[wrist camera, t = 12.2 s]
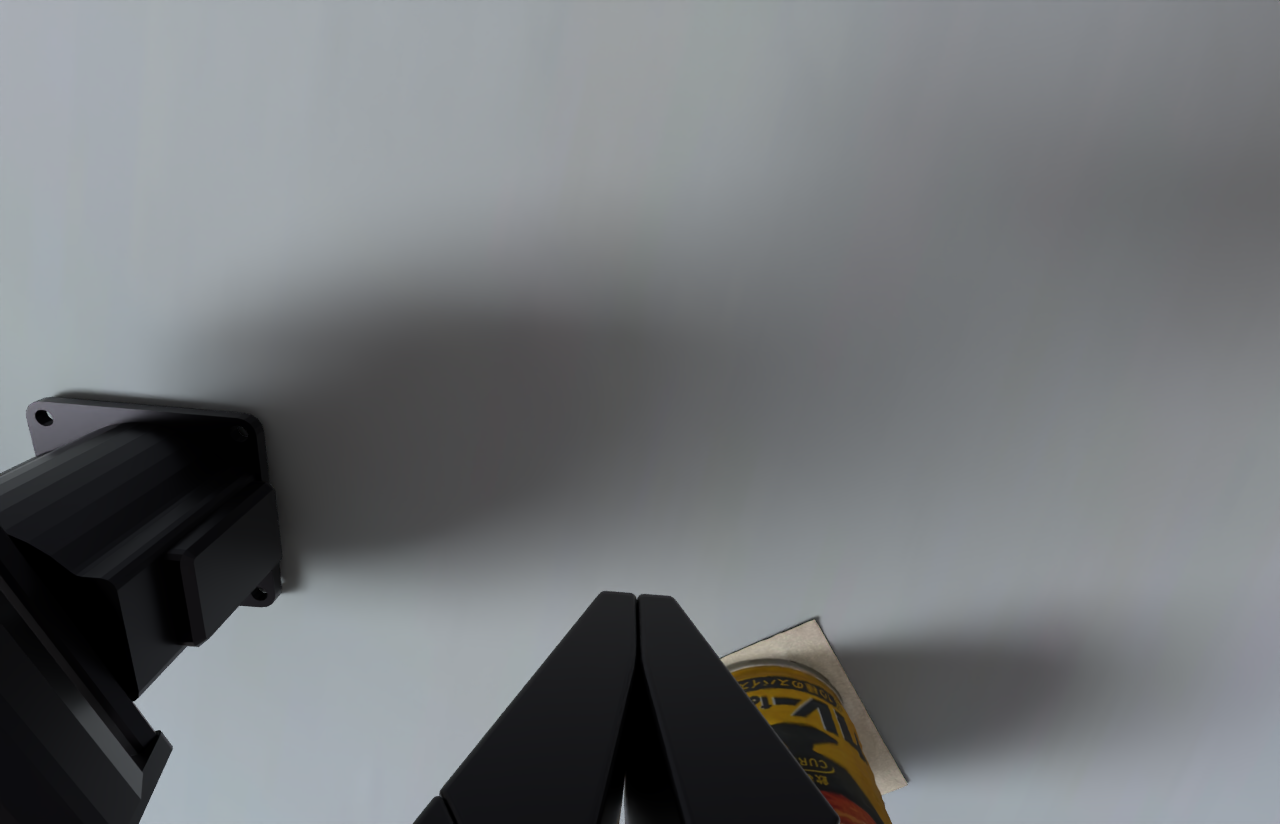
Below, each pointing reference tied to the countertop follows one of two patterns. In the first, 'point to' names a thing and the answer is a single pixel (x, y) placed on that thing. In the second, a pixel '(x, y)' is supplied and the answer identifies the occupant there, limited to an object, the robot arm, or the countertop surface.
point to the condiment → (820, 720)
